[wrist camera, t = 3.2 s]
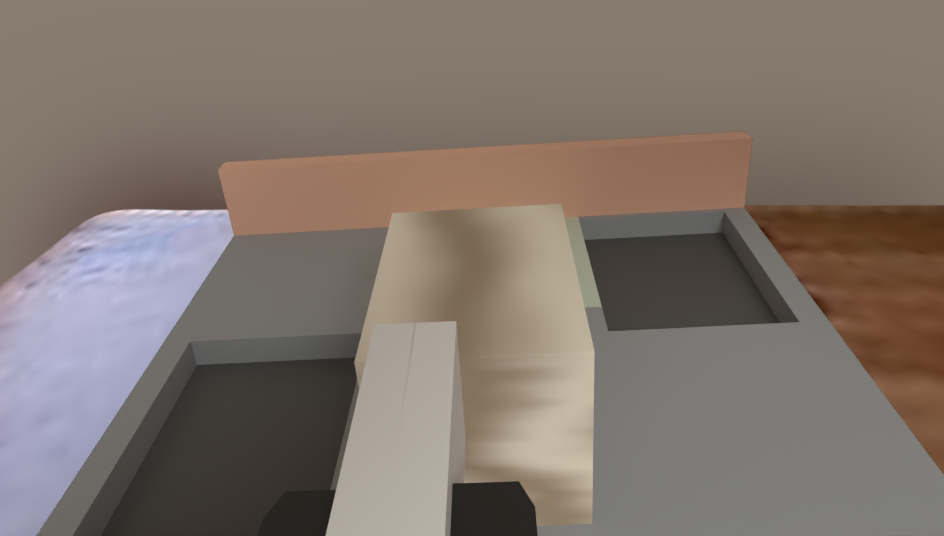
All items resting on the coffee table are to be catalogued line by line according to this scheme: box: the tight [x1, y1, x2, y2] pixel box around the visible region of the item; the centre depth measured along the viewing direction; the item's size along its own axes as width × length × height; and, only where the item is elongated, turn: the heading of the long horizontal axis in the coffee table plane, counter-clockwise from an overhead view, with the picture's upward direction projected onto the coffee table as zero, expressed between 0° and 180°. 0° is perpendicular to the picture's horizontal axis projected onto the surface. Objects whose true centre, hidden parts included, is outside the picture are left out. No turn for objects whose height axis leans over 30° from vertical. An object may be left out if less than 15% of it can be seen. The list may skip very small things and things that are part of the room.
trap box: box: [37, 131, 944, 536], centre depth 40 cm, size 36×30×7 cm
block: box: [354, 204, 595, 526], centre depth 32 cm, size 8×12×8 cm, turn 179°
